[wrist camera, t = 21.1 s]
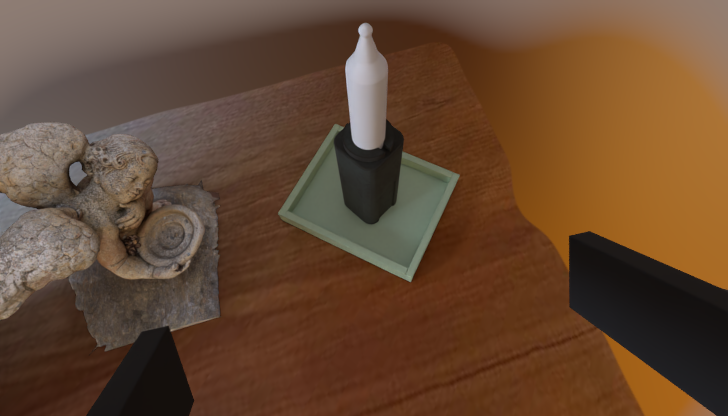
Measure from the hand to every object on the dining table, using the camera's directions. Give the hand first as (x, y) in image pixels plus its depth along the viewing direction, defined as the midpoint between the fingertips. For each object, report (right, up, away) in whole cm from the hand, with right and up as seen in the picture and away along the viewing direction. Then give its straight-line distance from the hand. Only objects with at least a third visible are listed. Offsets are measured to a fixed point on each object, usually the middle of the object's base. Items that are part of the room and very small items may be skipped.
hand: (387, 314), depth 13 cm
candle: (0, +4, +34) cm, 34 cm away
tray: (0, +4, +34) cm, 34 cm away
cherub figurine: (-26, -3, +32) cm, 41 cm away
